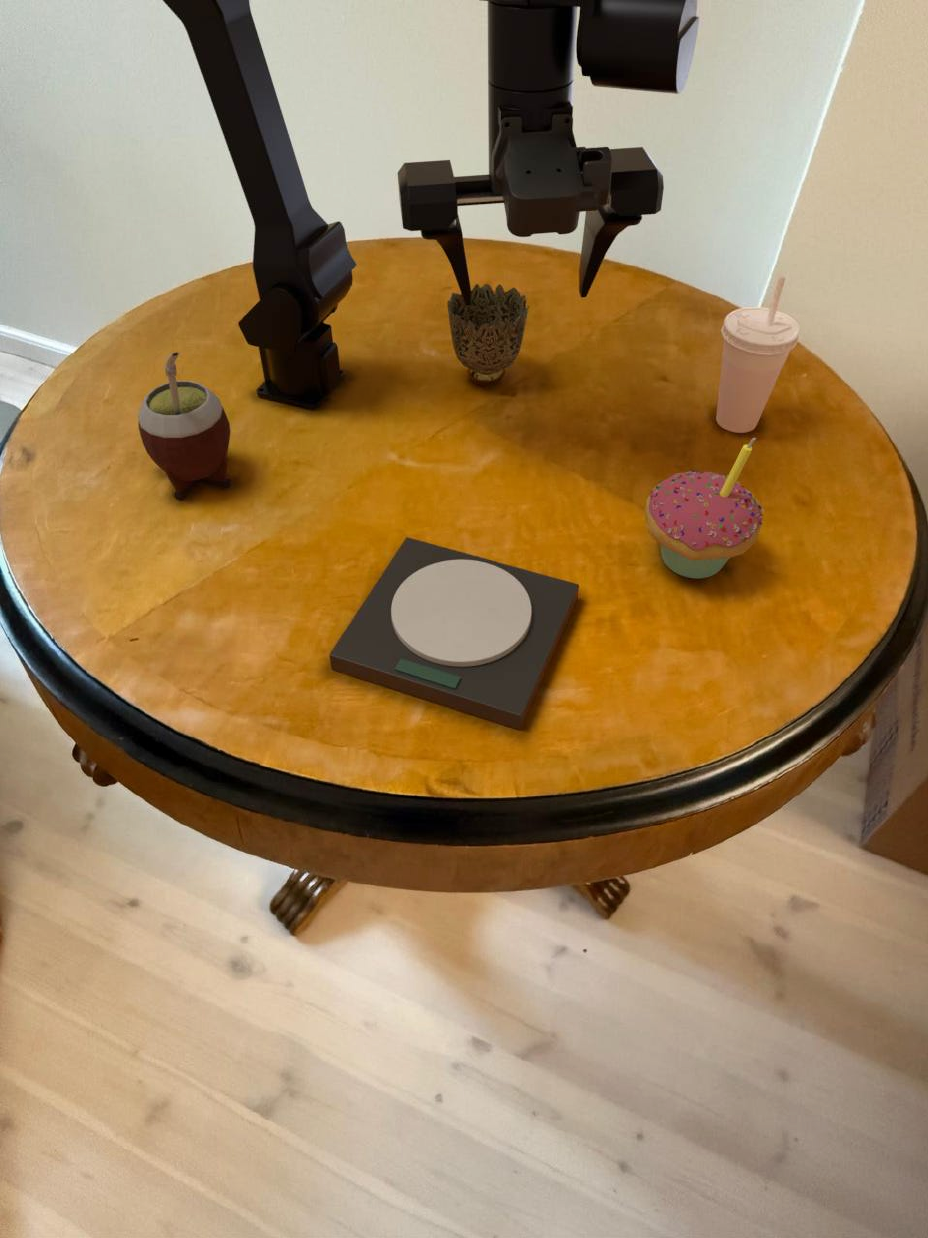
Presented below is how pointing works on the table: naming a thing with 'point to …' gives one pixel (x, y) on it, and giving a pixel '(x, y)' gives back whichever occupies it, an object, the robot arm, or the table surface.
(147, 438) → the mate gourd
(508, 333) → the cup
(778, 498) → the table surface
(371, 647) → the scale
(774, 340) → the smoothie
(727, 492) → the cupcake
